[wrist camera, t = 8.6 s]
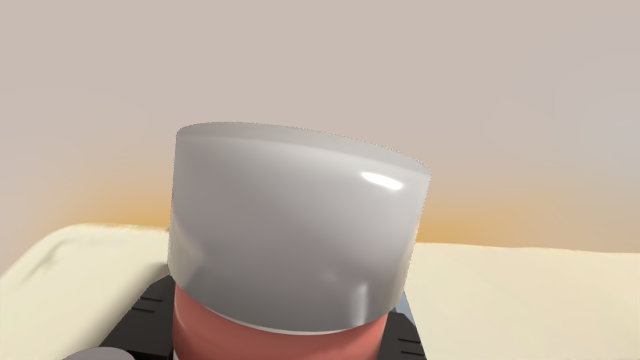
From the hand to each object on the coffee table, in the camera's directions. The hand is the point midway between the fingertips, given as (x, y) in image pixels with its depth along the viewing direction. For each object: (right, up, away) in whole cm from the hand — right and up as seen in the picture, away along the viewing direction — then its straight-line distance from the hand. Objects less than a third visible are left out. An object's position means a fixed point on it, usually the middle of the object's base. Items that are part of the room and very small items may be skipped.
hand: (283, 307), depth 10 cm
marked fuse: (-1, -8, -1) cm, 8 cm away
